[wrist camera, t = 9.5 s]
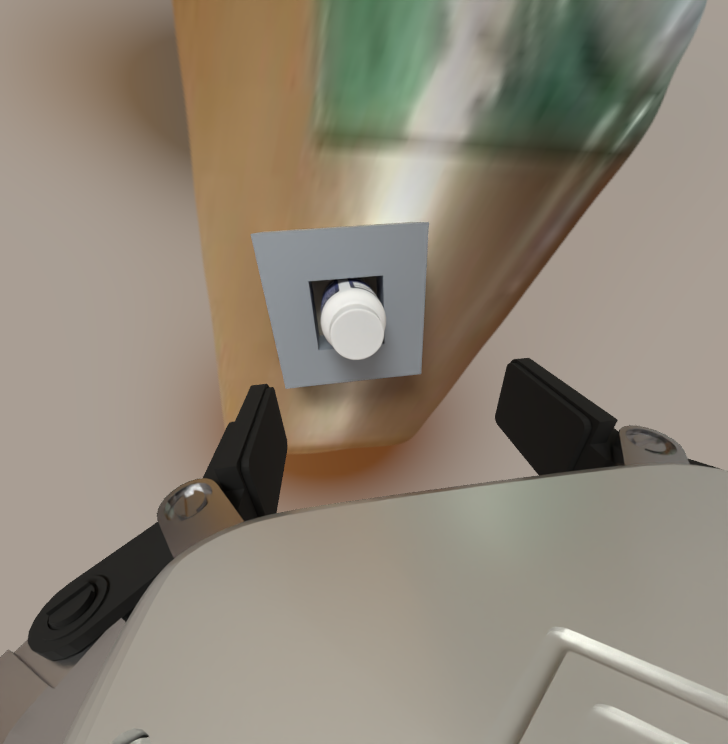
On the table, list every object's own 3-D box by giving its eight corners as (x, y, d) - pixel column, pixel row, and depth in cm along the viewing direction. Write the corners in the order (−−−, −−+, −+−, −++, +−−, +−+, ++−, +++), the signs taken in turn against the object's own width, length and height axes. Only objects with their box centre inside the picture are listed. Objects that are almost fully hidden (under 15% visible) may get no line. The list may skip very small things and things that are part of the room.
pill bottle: (331, 332, 30) (332, 377, 21) (314, 282, 27) (308, 311, 19) (379, 318, 30) (400, 357, 21) (366, 267, 27) (384, 288, 19)
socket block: (263, 231, 26) (250, 234, 21) (412, 222, 27) (428, 222, 22) (291, 366, 32) (285, 388, 28) (408, 354, 33) (421, 373, 29)
